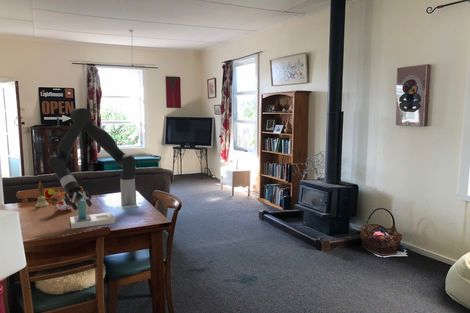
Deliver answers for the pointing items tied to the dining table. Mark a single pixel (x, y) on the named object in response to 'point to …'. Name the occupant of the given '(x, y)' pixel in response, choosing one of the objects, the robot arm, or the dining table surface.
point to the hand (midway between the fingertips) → (83, 207)
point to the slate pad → (82, 219)
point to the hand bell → (41, 197)
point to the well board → (94, 220)
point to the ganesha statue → (57, 199)
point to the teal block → (82, 209)
